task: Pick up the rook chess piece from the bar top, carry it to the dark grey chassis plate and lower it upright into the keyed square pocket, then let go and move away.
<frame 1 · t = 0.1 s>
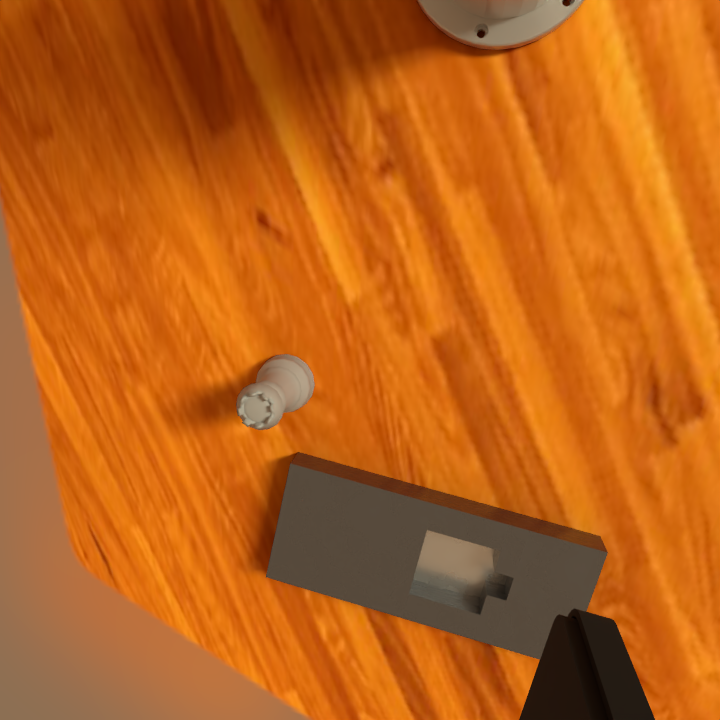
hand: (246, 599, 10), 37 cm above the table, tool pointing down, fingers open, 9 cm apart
pocket plate: (429, 549, 49), on the table
rook chess piece: (288, 380, 48), on the table
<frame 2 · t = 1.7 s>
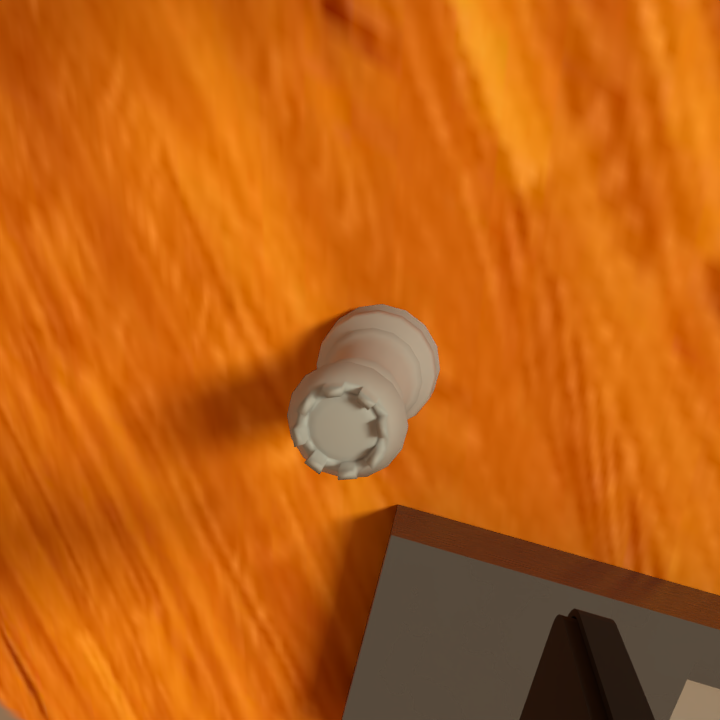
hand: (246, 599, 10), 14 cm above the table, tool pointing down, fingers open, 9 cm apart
pocket plate: (661, 698, 24), on the table
rook chess piece: (381, 360, 23), on the table
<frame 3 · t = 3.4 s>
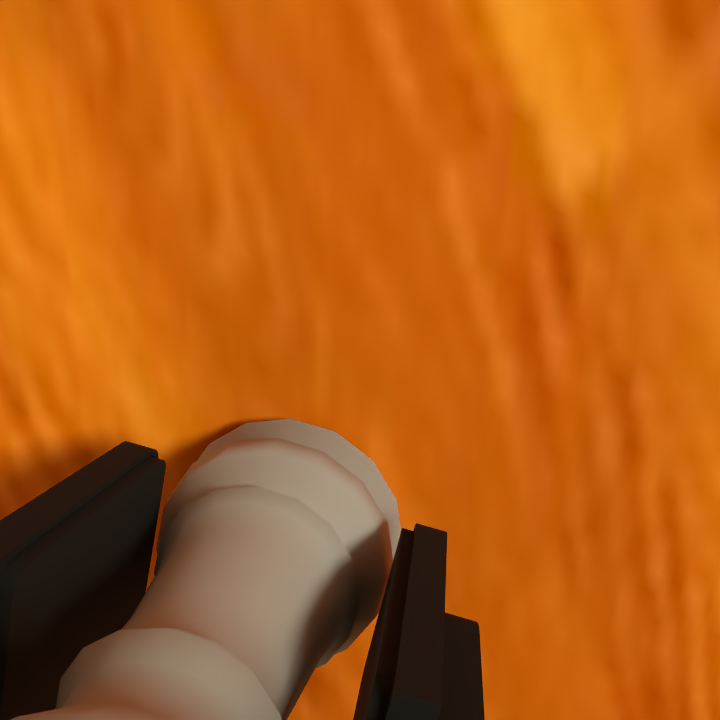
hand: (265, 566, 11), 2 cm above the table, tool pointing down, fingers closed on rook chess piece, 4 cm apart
rook chess piece: (296, 513, 13), on the table, touching gripper
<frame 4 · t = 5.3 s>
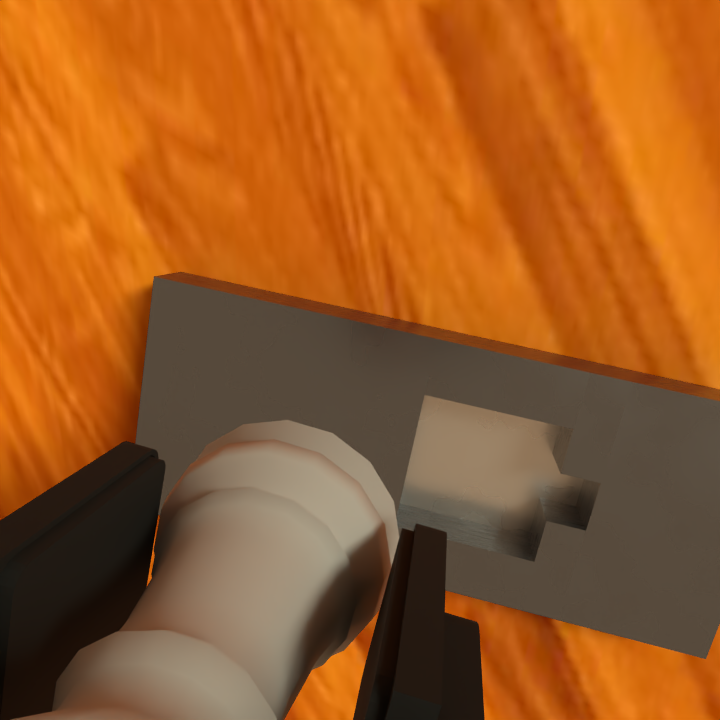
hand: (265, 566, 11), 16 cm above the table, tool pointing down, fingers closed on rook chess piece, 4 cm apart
pocket plate: (431, 445, 26), on the table
rook chess piece: (294, 514, 13), point 14 cm above the table, touching gripper
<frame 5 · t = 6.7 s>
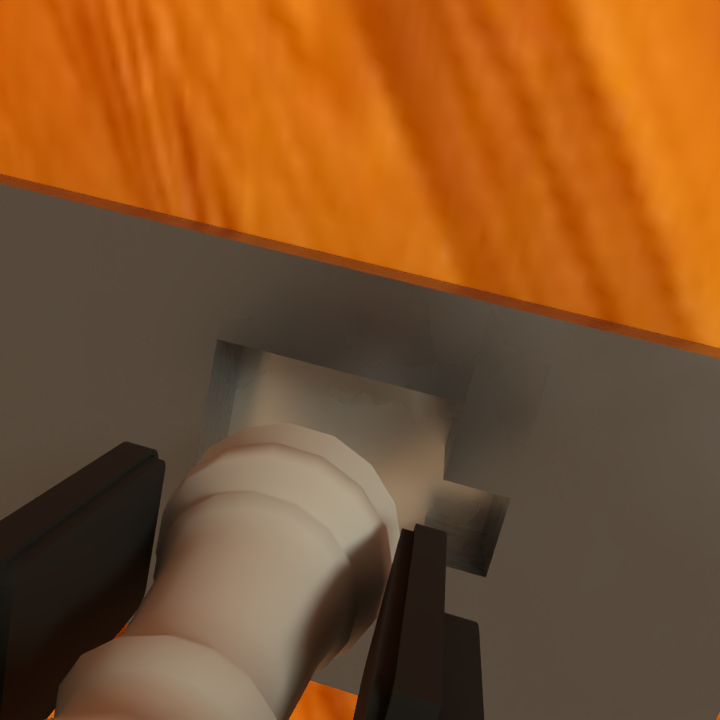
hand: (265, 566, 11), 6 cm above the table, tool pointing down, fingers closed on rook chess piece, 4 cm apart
pocket plate: (261, 430, 16), on the table
rook chess piece: (295, 516, 13), point 4 cm above the table, touching gripper
when the fingers open (3 cm above the table, at t = 7.5 s): rook chess piece drops 1 cm, resting on pocket plate.
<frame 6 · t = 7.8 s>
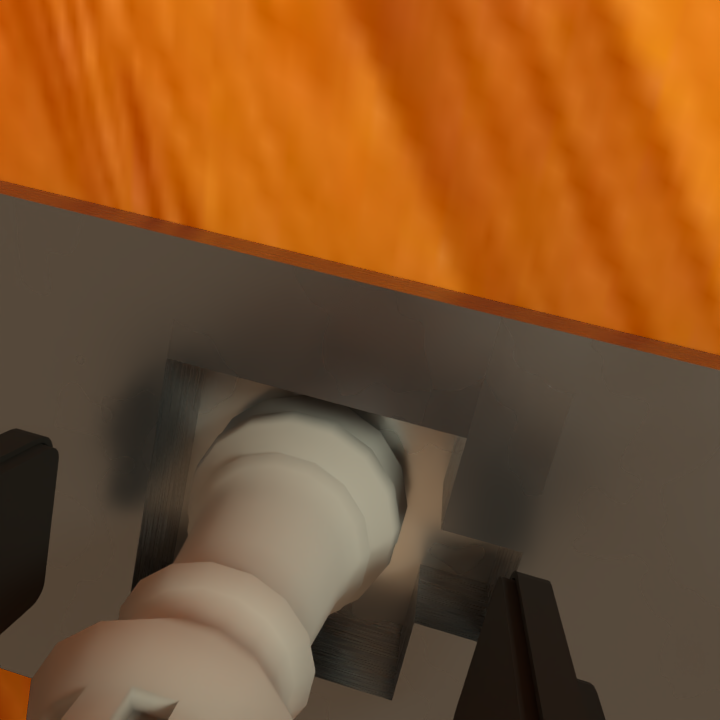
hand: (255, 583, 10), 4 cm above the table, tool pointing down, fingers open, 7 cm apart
pocket plate: (228, 460, 14), on the table
rook chess piece: (310, 481, 14), resting on pocket plate
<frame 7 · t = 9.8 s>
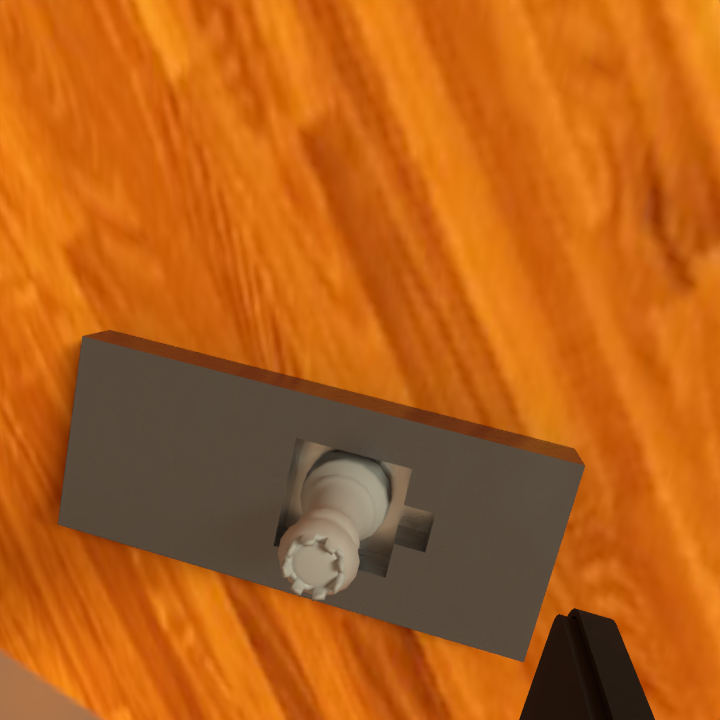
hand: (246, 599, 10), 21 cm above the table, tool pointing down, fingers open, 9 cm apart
pocket plate: (312, 479, 31), on the table
rook chess piece: (349, 488, 31), resting on pocket plate
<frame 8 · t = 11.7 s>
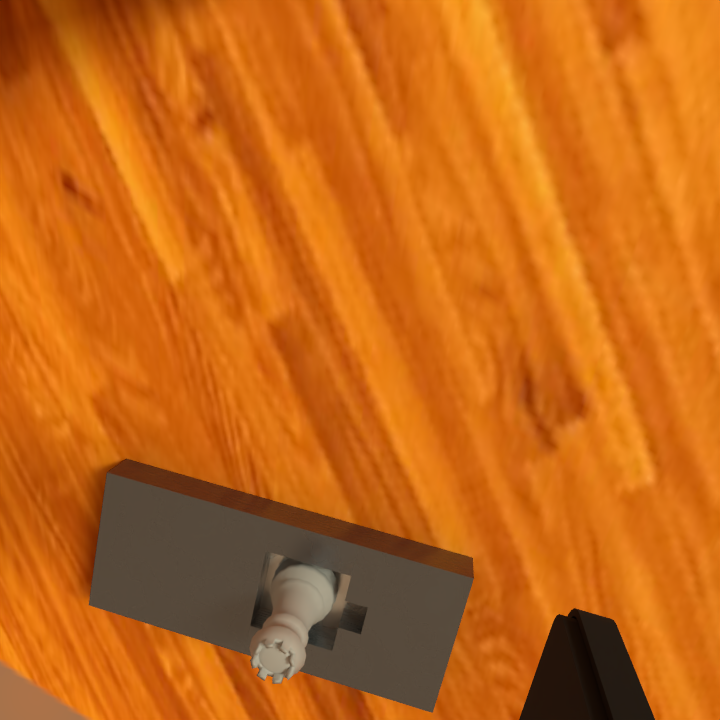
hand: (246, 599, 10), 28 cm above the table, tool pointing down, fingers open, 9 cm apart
pocket plate: (280, 572, 42), on the table
rook chess piece: (307, 580, 41), resting on pocket plate
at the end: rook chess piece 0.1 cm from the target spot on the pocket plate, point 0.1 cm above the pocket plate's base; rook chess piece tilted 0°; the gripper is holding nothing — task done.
